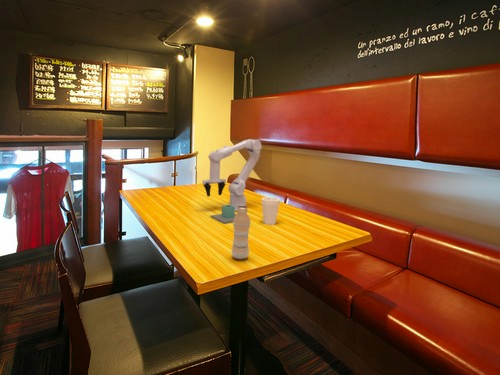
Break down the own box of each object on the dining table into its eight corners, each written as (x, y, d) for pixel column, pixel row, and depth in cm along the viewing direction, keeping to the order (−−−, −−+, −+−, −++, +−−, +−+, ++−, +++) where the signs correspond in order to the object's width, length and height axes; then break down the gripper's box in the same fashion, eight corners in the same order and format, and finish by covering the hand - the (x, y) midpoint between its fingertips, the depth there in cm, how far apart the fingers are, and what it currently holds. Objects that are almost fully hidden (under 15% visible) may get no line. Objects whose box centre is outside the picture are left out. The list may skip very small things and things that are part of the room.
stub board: (231, 214, 183) (232, 206, 182) (246, 220, 172) (246, 212, 171) (210, 217, 174) (210, 209, 173) (224, 223, 163) (224, 215, 162)
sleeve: (229, 215, 176) (229, 204, 175) (234, 217, 172) (234, 206, 171) (221, 216, 173) (222, 205, 172) (226, 218, 169) (227, 207, 168)
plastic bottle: (238, 253, 126) (240, 203, 122) (252, 257, 122) (254, 207, 118) (227, 258, 121) (229, 206, 117) (242, 263, 117) (244, 210, 113)
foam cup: (280, 222, 171) (281, 198, 169) (275, 226, 163) (277, 201, 160) (263, 219, 174) (264, 196, 172) (258, 224, 166) (259, 199, 163)
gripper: (207, 173, 175) (206, 198, 178) (229, 172, 184) (228, 195, 186) (200, 172, 181) (200, 195, 183) (222, 171, 189) (222, 193, 192)
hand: (214, 195), depth 185 cm, fingers open, 7 cm apart
